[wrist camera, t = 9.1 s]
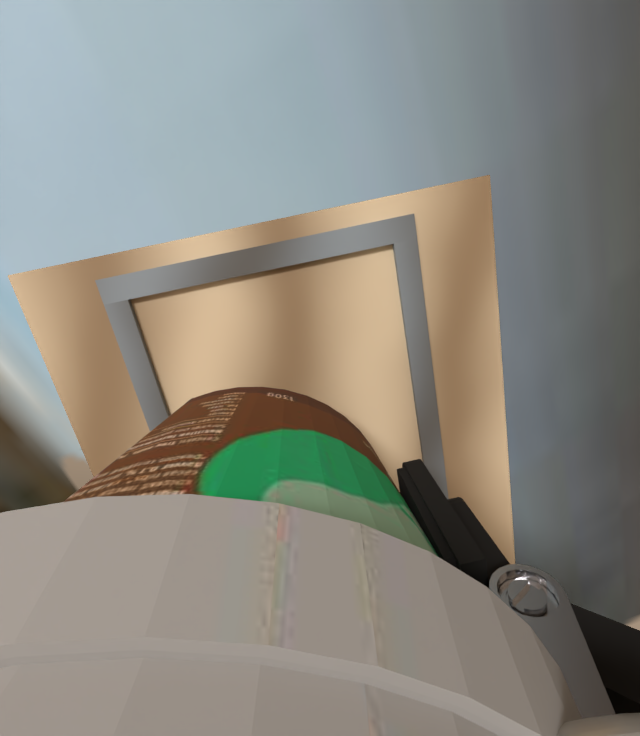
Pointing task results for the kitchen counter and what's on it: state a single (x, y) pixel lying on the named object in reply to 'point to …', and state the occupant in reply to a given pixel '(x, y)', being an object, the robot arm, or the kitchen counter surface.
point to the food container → (255, 595)
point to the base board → (300, 333)
